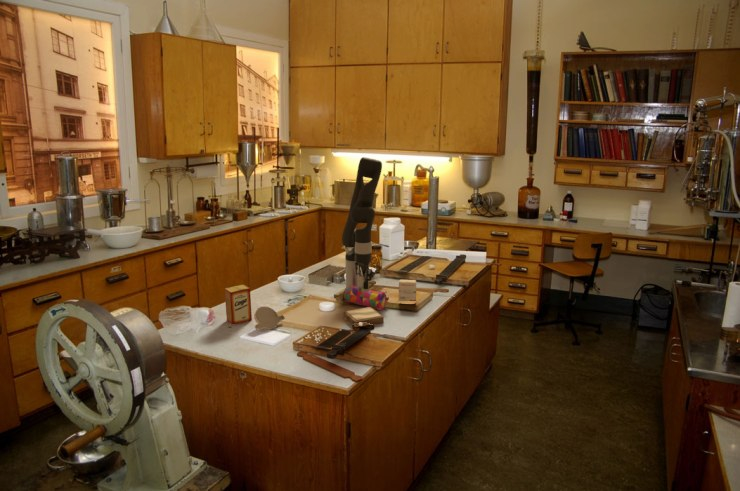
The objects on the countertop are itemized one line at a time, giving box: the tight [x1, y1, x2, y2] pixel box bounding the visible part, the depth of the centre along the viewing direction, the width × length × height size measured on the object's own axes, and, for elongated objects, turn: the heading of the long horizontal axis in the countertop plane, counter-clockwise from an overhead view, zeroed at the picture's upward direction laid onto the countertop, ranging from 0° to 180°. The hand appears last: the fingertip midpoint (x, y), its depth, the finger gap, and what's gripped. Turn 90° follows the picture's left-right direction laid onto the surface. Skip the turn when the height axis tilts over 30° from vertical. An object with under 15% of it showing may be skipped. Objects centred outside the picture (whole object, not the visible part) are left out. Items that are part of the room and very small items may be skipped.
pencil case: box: [343, 285, 390, 311], centre depth 277 cm, size 22×9×9 cm, turn 61°
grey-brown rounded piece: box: [253, 306, 286, 331], centre depth 253 cm, size 15×8×11 cm, turn 138°
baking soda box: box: [224, 284, 253, 325], centre depth 258 cm, size 10×6×16 cm
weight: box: [358, 274, 370, 292], centre depth 255 cm, size 5×5×8 cm
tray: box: [342, 306, 385, 326], centre depth 260 cm, size 14×14×3 cm
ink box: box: [398, 279, 417, 302], centre depth 280 cm, size 9×5×12 cm, turn 84°
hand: (363, 286), depth 256 cm, fingers closed on weight, 5 cm apart
